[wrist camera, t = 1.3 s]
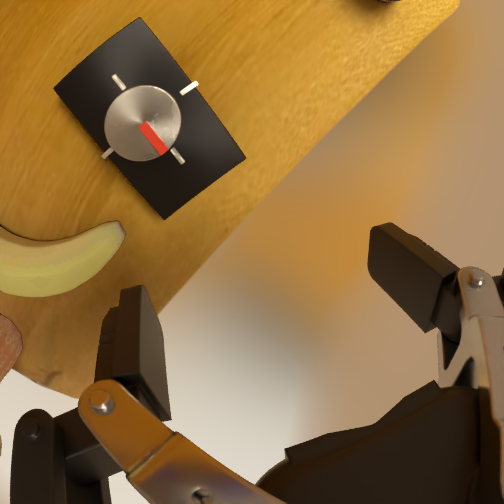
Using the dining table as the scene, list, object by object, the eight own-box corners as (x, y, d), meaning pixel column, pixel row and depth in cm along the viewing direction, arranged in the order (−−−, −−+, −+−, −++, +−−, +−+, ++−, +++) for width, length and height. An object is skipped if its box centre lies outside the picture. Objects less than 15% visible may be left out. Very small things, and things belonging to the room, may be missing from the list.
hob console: (62, 91, 18) (48, 91, 16) (146, 23, 18) (143, 13, 15) (161, 210, 26) (161, 224, 23) (241, 149, 25) (250, 156, 22)
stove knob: (106, 116, 18) (87, 121, 14) (155, 76, 18) (150, 69, 13) (142, 160, 20) (135, 178, 16) (190, 122, 20) (197, 129, 16)
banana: (38, 352, 21) (-91, 201, 12) (50, 326, 26) (-64, 197, 17) (131, 240, 22) (-11, 77, 14) (131, 229, 27) (9, 93, 19)
